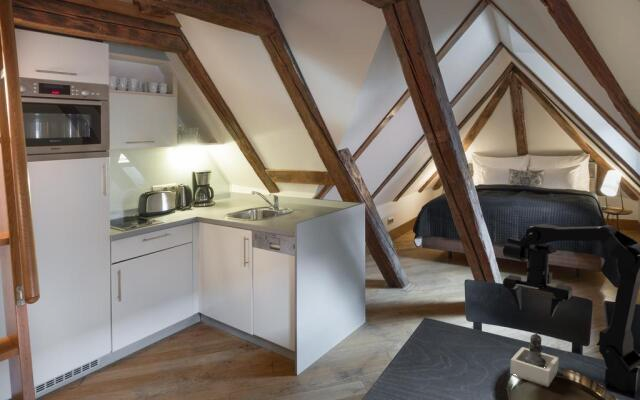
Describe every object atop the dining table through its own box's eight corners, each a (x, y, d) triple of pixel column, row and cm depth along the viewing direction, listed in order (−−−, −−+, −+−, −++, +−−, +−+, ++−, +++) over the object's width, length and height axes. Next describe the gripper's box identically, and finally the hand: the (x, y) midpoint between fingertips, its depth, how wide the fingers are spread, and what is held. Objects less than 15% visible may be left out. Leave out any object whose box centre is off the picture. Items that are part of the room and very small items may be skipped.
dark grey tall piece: (519, 370, 124) (521, 331, 123) (528, 363, 128) (530, 325, 126) (539, 379, 120) (542, 338, 118) (549, 371, 123) (551, 332, 122)
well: (557, 372, 124) (558, 357, 124) (548, 387, 117) (548, 371, 116) (521, 360, 131) (522, 346, 130) (510, 374, 124) (510, 359, 123)
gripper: (578, 264, 132) (575, 312, 134) (515, 254, 144) (513, 298, 147) (569, 273, 124) (566, 324, 126) (503, 261, 136) (501, 308, 138)
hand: (535, 313), depth 134 cm, fingers open, 9 cm apart
